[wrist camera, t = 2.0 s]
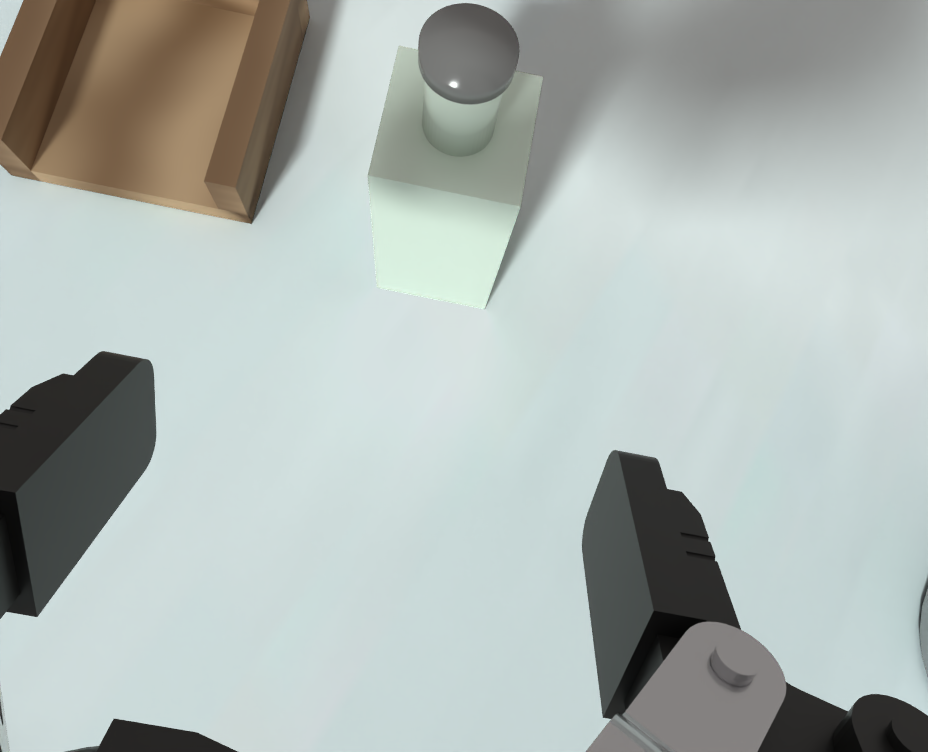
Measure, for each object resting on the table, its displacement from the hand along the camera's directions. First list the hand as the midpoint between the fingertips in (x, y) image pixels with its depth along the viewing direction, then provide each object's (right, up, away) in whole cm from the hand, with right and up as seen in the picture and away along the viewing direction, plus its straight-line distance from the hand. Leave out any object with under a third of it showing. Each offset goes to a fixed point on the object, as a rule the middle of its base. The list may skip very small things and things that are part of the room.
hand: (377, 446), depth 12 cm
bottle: (0, +7, +18) cm, 19 cm away
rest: (-11, +14, +18) cm, 26 cm away
